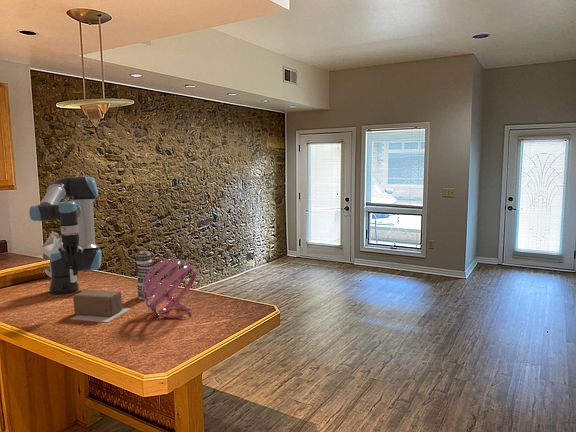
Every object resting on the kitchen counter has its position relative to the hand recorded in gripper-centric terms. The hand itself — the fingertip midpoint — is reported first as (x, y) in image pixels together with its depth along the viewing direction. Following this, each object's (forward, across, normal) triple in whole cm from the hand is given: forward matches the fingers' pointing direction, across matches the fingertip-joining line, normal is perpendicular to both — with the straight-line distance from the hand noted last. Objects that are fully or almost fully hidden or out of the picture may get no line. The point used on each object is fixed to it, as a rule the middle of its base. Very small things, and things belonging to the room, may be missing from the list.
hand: (74, 281), depth 213 cm
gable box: (+16, -64, +61) cm, 90 cm away
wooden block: (+10, +2, 0) cm, 10 cm away
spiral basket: (+16, +47, +8) cm, 50 cm away
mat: (+15, +14, 0) cm, 21 cm away
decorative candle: (+16, +21, +28) cm, 38 cm away
